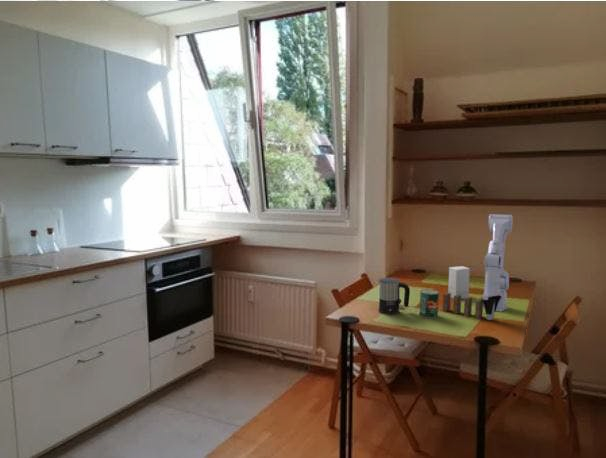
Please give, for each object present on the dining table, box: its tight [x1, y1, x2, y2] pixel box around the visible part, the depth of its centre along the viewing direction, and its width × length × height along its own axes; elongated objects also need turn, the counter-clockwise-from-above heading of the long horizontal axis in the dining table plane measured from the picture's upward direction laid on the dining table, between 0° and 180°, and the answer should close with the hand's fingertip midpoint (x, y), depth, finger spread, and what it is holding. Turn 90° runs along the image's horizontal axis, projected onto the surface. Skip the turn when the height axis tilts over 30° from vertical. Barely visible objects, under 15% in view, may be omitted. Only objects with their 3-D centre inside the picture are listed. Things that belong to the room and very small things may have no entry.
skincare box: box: [447, 265, 471, 300], centre depth 229 cm, size 8×7×16 cm
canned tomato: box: [418, 288, 440, 319], centre depth 200 cm, size 8×8×11 cm
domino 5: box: [486, 303, 495, 321], centre depth 194 cm, size 4×2×8 cm, turn 136°
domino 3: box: [463, 296, 473, 317], centre depth 201 cm, size 4×2×8 cm, turn 136°
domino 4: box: [474, 298, 484, 320], centre depth 197 cm, size 4×2×8 cm, turn 136°
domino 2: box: [452, 295, 462, 315], centre depth 204 cm, size 4×2×8 cm, turn 136°
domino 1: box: [442, 291, 452, 313], centre depth 208 cm, size 4×2×8 cm, turn 136°
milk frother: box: [378, 277, 411, 315], centre depth 209 cm, size 14×16×15 cm
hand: (490, 313), depth 194 cm, fingers closed on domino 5, 4 cm apart
